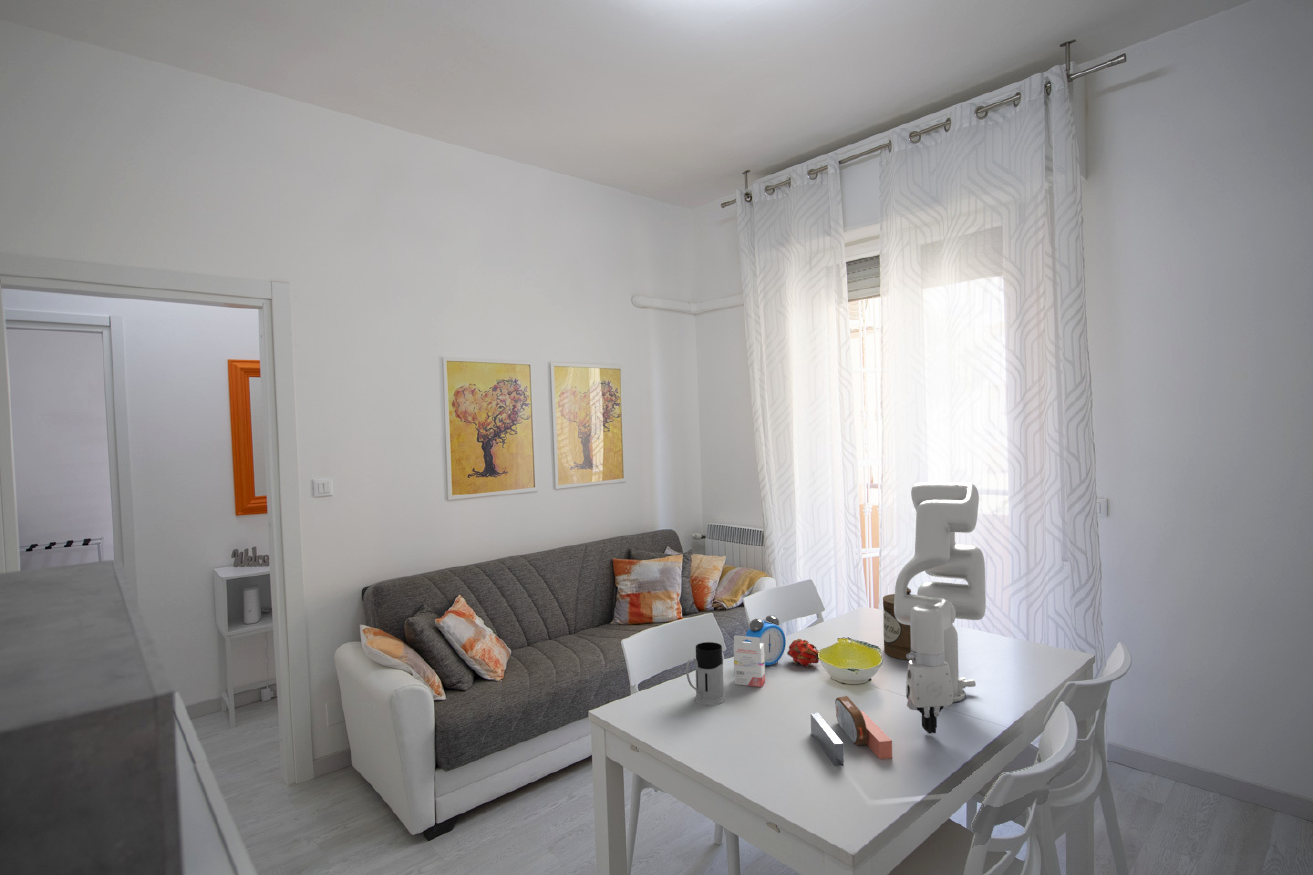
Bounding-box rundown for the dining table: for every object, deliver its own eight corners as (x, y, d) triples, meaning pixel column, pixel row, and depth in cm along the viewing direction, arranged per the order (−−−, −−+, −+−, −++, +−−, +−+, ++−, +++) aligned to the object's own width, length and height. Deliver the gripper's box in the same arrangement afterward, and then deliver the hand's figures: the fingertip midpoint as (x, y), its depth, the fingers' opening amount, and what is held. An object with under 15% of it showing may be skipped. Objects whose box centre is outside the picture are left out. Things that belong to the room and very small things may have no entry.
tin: (869, 751, 154) (868, 715, 154) (856, 752, 154) (855, 716, 154) (845, 722, 169) (844, 690, 169) (833, 723, 169) (833, 691, 169)
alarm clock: (756, 670, 207) (755, 623, 206) (743, 664, 212) (742, 618, 212) (786, 661, 213) (785, 616, 213) (774, 656, 219) (772, 611, 218)
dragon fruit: (789, 663, 217) (819, 678, 208) (777, 653, 211) (807, 668, 202) (800, 639, 219) (830, 653, 210) (789, 630, 214) (819, 643, 205)
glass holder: (731, 697, 186) (730, 645, 186) (700, 714, 176) (698, 659, 176) (707, 689, 192) (706, 639, 192) (675, 705, 182) (674, 652, 182)
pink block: (862, 726, 165) (862, 710, 165) (892, 757, 149) (891, 740, 149) (851, 727, 165) (851, 711, 165) (879, 758, 149) (879, 741, 149)
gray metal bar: (818, 732, 164) (818, 712, 164) (843, 765, 148) (843, 743, 148) (811, 733, 164) (810, 713, 164) (835, 765, 148) (834, 743, 148)
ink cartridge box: (765, 681, 197) (764, 633, 197) (762, 687, 193) (760, 638, 193) (738, 678, 201) (737, 630, 200) (733, 684, 196) (732, 635, 196)
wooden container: (879, 645, 227) (878, 582, 227) (924, 645, 225) (923, 582, 225) (889, 660, 213) (887, 592, 212) (936, 661, 210) (935, 593, 210)
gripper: (906, 665, 154) (907, 741, 155) (965, 660, 156) (967, 735, 157) (891, 653, 162) (893, 726, 162) (948, 649, 163) (949, 721, 164)
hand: (929, 730), depth 160 cm, fingers closed
